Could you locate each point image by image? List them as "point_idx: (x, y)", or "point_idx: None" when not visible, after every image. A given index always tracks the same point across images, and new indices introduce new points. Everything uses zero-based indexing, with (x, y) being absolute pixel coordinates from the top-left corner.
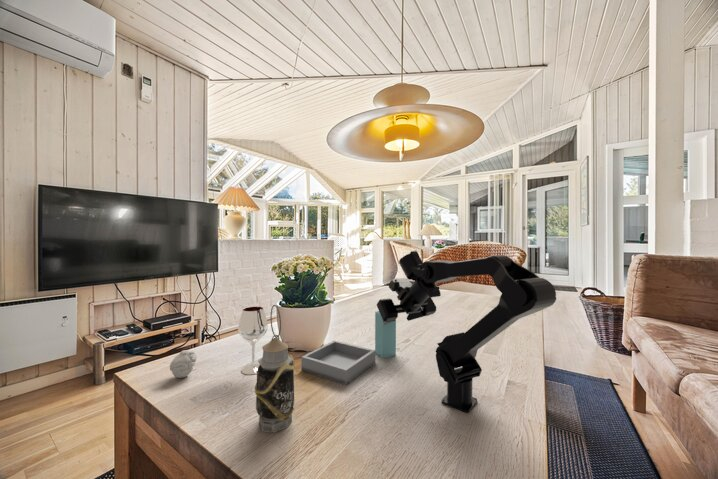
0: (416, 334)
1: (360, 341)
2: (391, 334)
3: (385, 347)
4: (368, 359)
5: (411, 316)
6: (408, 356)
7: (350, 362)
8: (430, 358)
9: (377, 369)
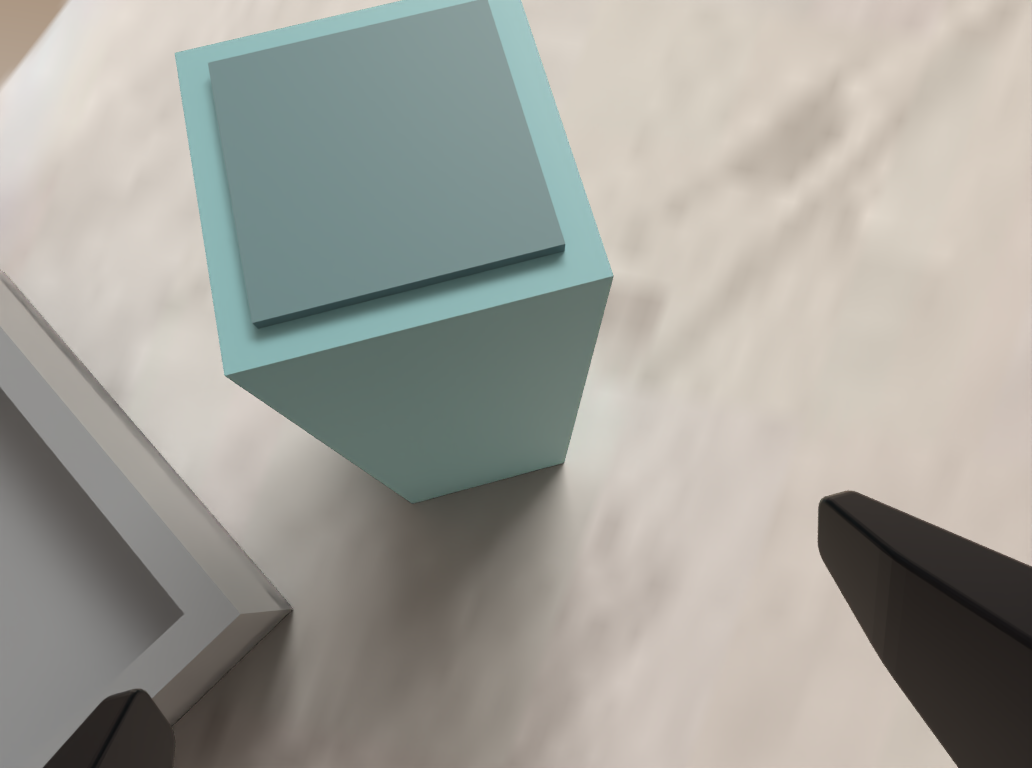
0: (949, 9)
1: None
2: (502, 428)
3: (425, 480)
4: None
5: (959, 698)
6: (686, 519)
7: (11, 615)
8: None
9: (262, 760)
